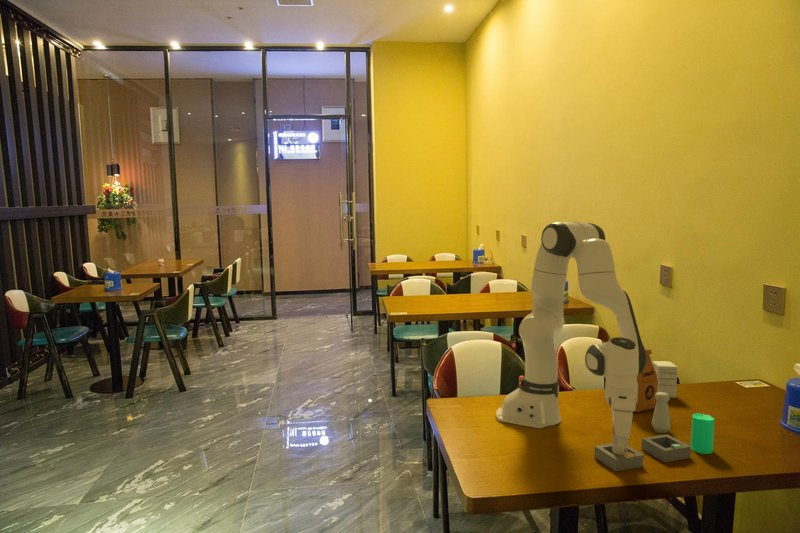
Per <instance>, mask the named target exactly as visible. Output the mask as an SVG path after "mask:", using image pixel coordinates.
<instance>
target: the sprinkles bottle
mask: <svg viewBox="0 0 800 533" xmlns="http://www.w3.org/2000/svg"><path fill="white" fill-rule="evenodd" d="M611 421H612V422H611V424H612V438H611V439H612V440H611V444H612V454H613V455H615V456H617V457H619V456H623V453H627V452H628V446H629V438H625V442H624V448H618V447H617V437H616V435H615V429H614V417H612V420H611Z"/></svg>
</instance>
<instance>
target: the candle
mask: <svg viewBox="0 0 800 533" xmlns="http://www.w3.org/2000/svg"><path fill="white" fill-rule="evenodd" d="M691 418H692V419H691V437H690V446H691V450H692V451H693V452H695V453H699V454H705V455H707V454H708V455H709V454H712V453H714V438H715V437H714V436H715V434H714V433H715V418H714V417H712V416H711V415H710V414H705V412H704V411H703V413H700V412H697V413H693V414H692V416H691Z"/></svg>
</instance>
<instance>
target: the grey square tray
mask: <svg viewBox="0 0 800 533" xmlns="http://www.w3.org/2000/svg"><path fill="white" fill-rule="evenodd" d="M641 450H642V451H644V452H645V453H646V454H649V455H651V456H653V457H654V458H656V459H658V460H659V461H661V462H663V463H671V462H674V461H675V462H676V461H681V460H685V459H687V460H688V459H691V453H692V452H691V450H692V449H691V445H689V444H688V443H685V442H684V441H681V440H679V439H678V438H675V437H673V436H671V435H670V434H666V433H664V434H660V435H656V436H655V435H654V436H649V437H648V436H646V437H642V438H641Z"/></svg>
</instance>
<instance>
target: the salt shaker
mask: <svg viewBox="0 0 800 533" xmlns="http://www.w3.org/2000/svg"><path fill="white" fill-rule="evenodd" d="M655 399H656V400H657V403H656V407H655V408H654V411H653V415H652V418H651V419H652V420H651V425H652V428H653V430H654V432H656V433H658V434H666V433H668V432H669V430H670V428H671V417H670V411H669V404H668V402H669V401H670V399H671V398H670V397H669V395H668V394H667V393H665V392H657V393H656V394H655Z"/></svg>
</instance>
